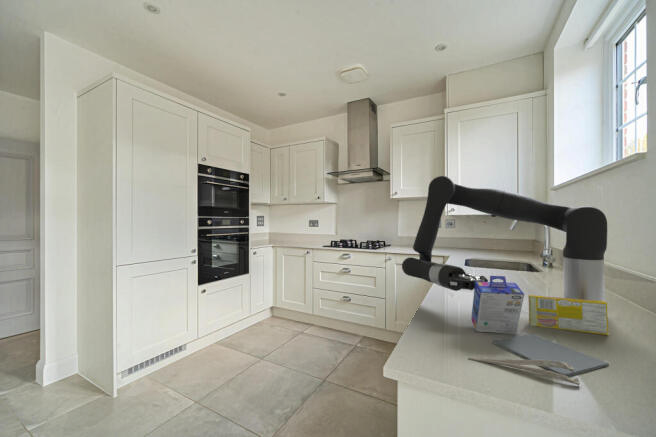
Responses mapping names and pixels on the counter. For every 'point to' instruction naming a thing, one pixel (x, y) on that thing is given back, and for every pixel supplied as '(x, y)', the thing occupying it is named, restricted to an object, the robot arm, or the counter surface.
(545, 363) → the animal jaw bone
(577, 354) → the mat
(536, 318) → the candy box
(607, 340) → the counter surface
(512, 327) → the ink cartridge box
